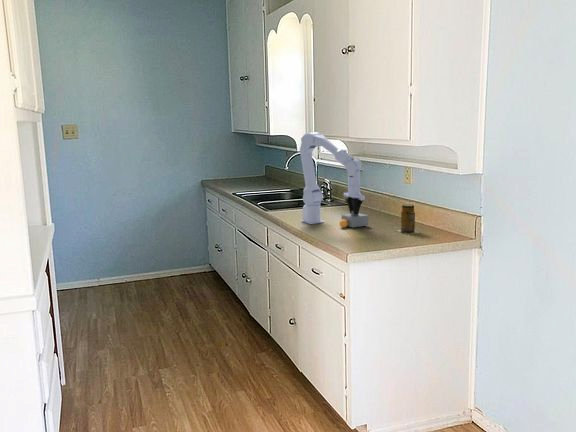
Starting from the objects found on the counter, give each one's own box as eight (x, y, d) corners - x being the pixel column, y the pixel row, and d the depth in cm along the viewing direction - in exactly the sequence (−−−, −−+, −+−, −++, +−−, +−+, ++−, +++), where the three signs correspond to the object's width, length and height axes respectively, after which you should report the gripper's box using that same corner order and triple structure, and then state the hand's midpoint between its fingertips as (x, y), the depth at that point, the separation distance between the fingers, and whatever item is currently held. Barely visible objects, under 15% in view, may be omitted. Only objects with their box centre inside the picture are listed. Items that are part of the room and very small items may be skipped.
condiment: (411, 229, 258) (411, 203, 256) (420, 233, 250) (420, 206, 248) (396, 230, 256) (396, 204, 254) (405, 234, 248) (405, 207, 246)
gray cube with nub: (341, 224, 271) (341, 210, 270) (357, 222, 275) (356, 208, 274) (352, 227, 263) (352, 213, 262) (368, 225, 267) (368, 211, 266)
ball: (345, 222, 269) (341, 228, 268) (341, 216, 267) (336, 223, 266) (351, 223, 265) (346, 230, 265) (346, 218, 263) (341, 225, 263)
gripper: (370, 185, 261) (370, 214, 264) (352, 182, 274) (352, 210, 276) (357, 187, 258) (358, 216, 260) (339, 184, 270) (340, 212, 273)
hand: (354, 213), depth 268 cm, fingers closed on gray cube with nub, 2 cm apart
